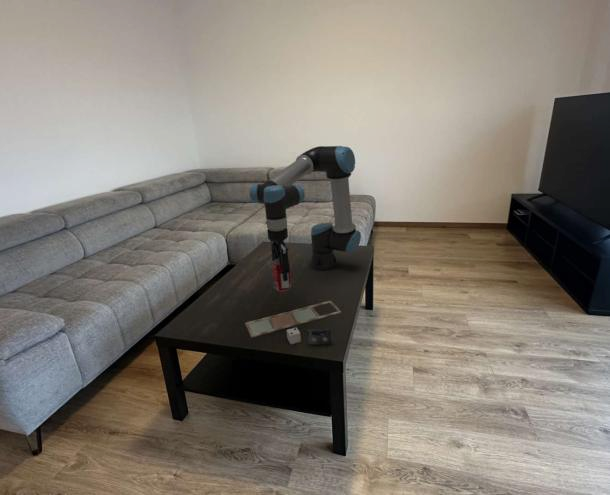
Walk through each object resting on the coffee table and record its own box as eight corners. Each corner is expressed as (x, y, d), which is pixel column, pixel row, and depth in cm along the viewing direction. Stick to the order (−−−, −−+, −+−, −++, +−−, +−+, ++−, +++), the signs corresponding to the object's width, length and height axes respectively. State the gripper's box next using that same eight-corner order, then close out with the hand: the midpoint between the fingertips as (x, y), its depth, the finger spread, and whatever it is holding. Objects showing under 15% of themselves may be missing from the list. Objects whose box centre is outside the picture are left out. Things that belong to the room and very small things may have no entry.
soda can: (294, 285, 142) (292, 257, 137) (287, 293, 136) (285, 265, 131) (277, 283, 144) (275, 256, 140) (271, 291, 138) (268, 263, 134)
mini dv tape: (330, 341, 131) (330, 328, 128) (330, 344, 129) (330, 330, 127) (308, 342, 131) (307, 328, 129) (308, 344, 130) (307, 331, 128)
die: (297, 336, 135) (296, 326, 134) (300, 341, 132) (300, 331, 130) (287, 338, 134) (286, 329, 132) (290, 344, 131) (289, 334, 129)
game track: (330, 301, 158) (330, 300, 157) (341, 312, 148) (341, 311, 148) (245, 323, 145) (245, 322, 145) (251, 337, 136) (251, 336, 136)
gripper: (260, 222, 138) (266, 275, 146) (275, 237, 121) (281, 296, 129) (278, 219, 141) (283, 271, 149) (296, 234, 123) (300, 291, 132)
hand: (282, 283), depth 139 cm, fingers closed on soda can, 7 cm apart
